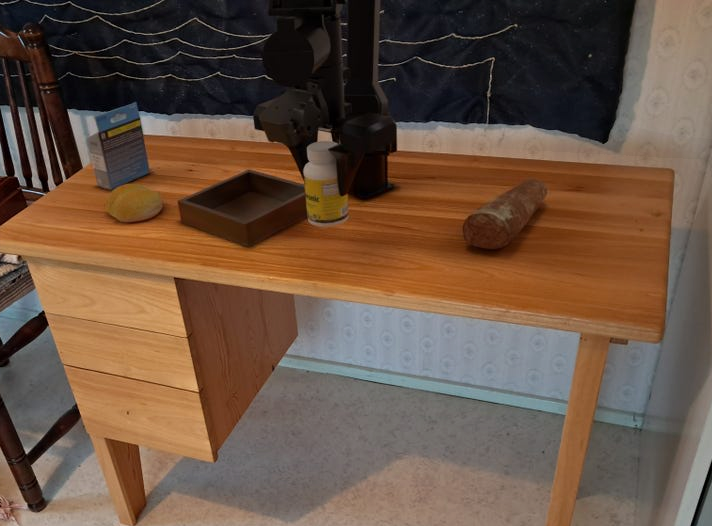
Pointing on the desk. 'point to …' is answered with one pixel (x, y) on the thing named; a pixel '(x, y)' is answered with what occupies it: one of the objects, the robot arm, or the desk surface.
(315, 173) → the supplement bottle
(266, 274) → the desk surface
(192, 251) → the desk surface
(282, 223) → the tray
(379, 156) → the robot arm
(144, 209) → the bread roll
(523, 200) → the salami
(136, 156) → the label tape box
